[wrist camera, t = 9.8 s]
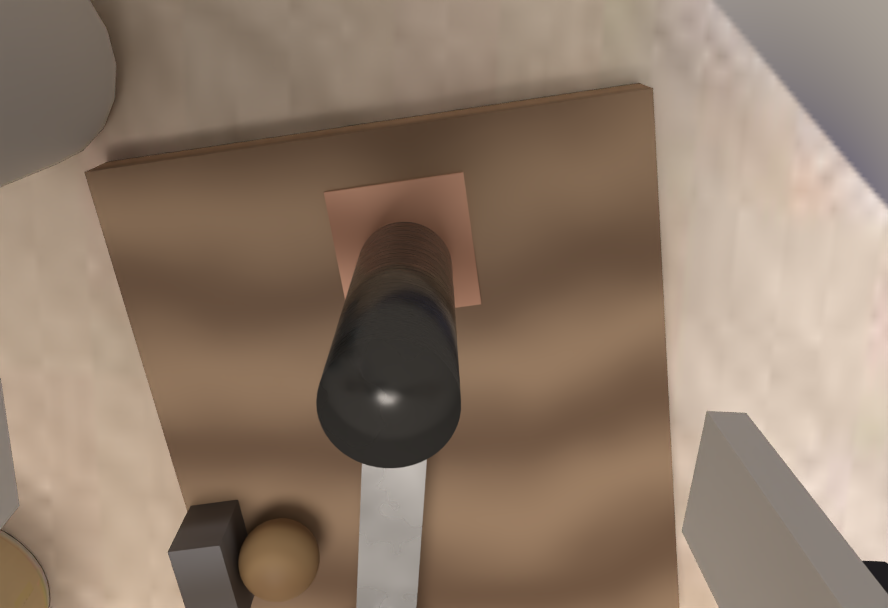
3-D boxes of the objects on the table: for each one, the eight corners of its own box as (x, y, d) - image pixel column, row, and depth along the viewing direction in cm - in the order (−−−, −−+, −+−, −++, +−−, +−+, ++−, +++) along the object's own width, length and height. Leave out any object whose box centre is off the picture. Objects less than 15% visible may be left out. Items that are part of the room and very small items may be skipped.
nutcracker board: (106, 162, 30) (42, 192, 25) (638, 83, 29) (679, 98, 24) (251, 656, 38) (224, 751, 33) (668, 606, 37) (703, 695, 33)
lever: (427, 679, 36) (424, 986, 25) (338, 675, 36) (294, 982, 24) (465, 211, 28) (485, 344, 17) (352, 204, 28) (298, 333, 17)
